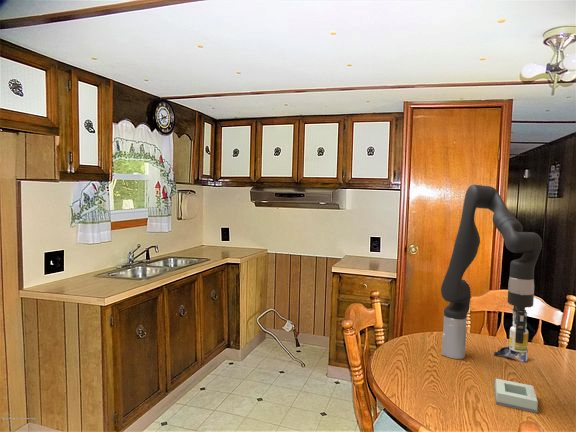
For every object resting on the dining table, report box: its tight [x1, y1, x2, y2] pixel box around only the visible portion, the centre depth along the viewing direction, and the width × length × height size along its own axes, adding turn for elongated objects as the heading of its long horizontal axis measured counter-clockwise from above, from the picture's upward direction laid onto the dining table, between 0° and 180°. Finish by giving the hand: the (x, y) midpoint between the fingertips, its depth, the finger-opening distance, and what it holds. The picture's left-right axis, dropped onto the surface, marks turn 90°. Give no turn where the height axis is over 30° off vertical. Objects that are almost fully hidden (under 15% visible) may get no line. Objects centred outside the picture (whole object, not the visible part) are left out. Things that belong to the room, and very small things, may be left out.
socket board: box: [493, 378, 539, 414], centre depth 136 cm, size 12×17×4 cm
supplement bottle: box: [508, 320, 529, 353], centre depth 133 cm, size 5×5×10 cm
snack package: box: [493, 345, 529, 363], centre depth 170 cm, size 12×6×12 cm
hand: (518, 339), depth 133 cm, fingers closed on supplement bottle, 5 cm apart
